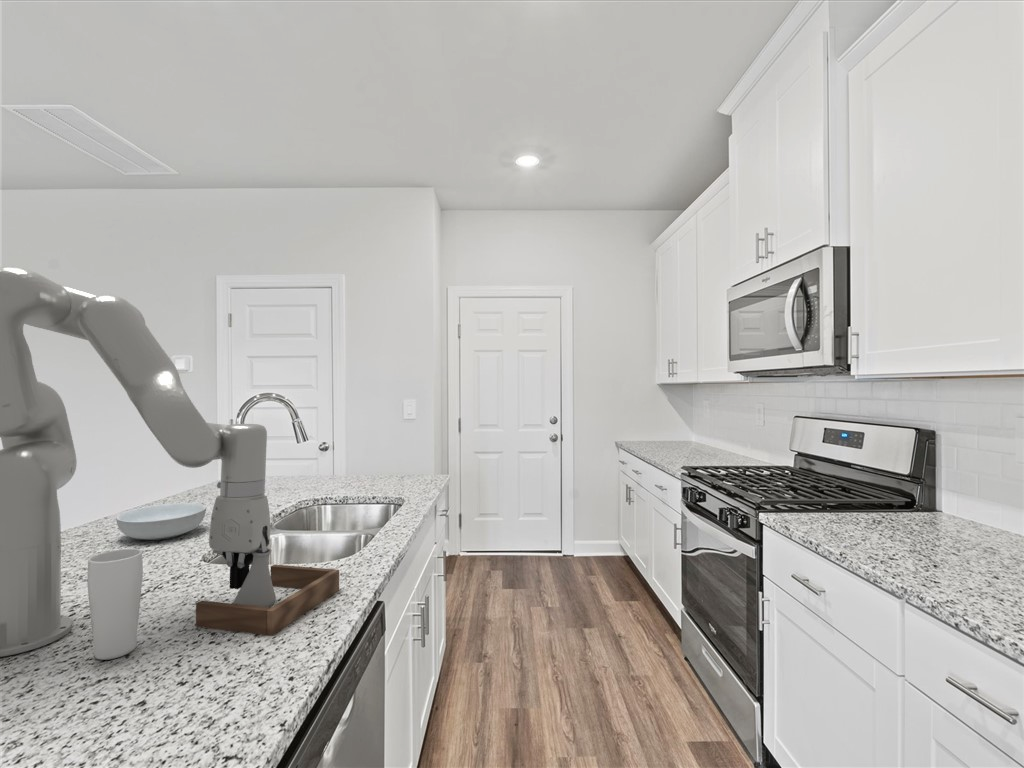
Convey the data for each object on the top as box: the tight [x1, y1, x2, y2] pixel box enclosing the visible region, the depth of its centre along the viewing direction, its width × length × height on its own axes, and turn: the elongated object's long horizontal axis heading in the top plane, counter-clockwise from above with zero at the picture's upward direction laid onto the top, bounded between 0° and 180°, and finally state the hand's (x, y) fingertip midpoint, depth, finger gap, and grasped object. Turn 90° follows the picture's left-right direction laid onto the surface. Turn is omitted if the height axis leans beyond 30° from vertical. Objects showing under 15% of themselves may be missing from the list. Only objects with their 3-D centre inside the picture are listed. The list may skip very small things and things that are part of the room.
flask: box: [231, 547, 277, 607], centre depth 97 cm, size 7×7×10 cm
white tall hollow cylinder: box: [86, 548, 144, 661], centre depth 80 cm, size 7×7×15 cm
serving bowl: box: [115, 502, 207, 541], centre depth 145 cm, size 21×21×7 cm
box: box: [195, 564, 340, 636], centre depth 97 cm, size 20×15×4 cm
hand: (239, 586), depth 98 cm, fingers closed
